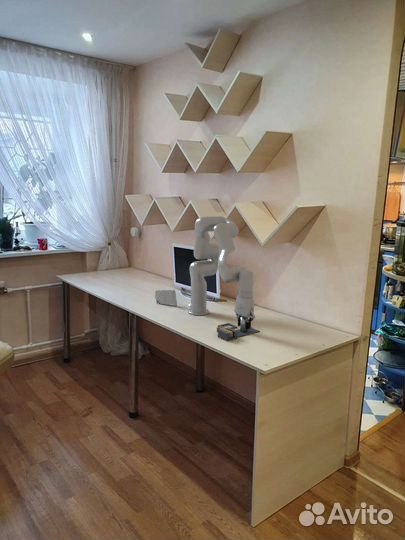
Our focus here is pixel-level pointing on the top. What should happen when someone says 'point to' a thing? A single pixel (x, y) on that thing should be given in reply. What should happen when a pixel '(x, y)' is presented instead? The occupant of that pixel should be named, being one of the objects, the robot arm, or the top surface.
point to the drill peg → (243, 325)
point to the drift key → (225, 330)
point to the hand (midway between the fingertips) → (244, 327)
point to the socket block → (227, 334)
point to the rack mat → (250, 331)
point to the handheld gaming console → (166, 296)
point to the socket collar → (229, 325)
